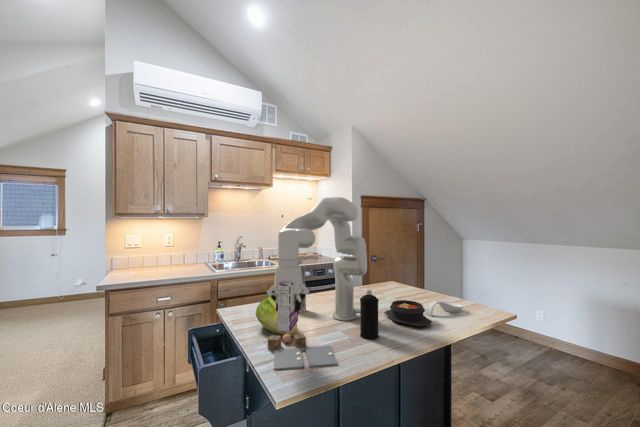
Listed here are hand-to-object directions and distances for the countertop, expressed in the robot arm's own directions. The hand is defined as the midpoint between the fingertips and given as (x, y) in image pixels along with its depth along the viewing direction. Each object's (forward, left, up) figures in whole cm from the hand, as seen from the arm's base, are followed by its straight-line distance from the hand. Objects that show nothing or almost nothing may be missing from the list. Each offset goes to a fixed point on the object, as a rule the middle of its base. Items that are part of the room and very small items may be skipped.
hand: (288, 311), depth 103 cm
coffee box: (-7, -54, -17) cm, 57 cm away
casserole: (-61, -30, -17) cm, 70 cm away
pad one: (-12, 0, -17) cm, 21 cm away
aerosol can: (-36, -15, -17) cm, 43 cm away
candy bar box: (0, 0, -5) cm, 5 cm away
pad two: (0, 0, -17) cm, 17 cm away
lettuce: (+3, -27, -17) cm, 33 cm away
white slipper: (-87, -39, -18) cm, 97 cm away
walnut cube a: (-5, -10, -17) cm, 21 cm away
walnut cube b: (+5, -10, -17) cm, 21 cm away
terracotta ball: (0, -14, -15) cm, 20 cm away
